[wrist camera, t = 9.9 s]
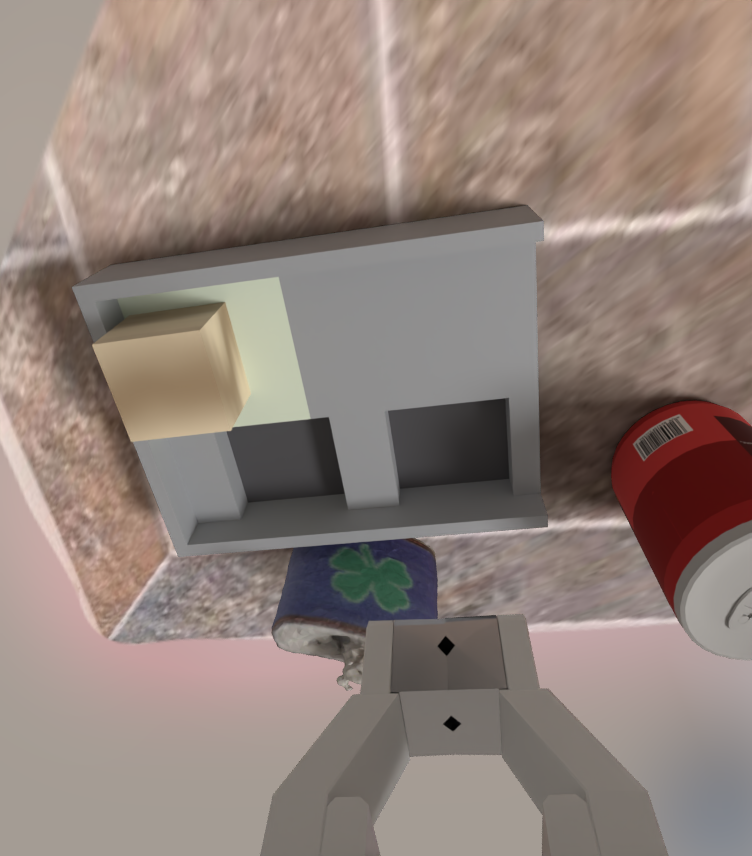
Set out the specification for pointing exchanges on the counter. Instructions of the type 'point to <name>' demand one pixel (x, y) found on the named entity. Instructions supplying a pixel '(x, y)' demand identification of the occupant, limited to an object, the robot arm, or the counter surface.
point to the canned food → (694, 516)
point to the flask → (352, 597)
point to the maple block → (175, 372)
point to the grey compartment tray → (355, 384)
